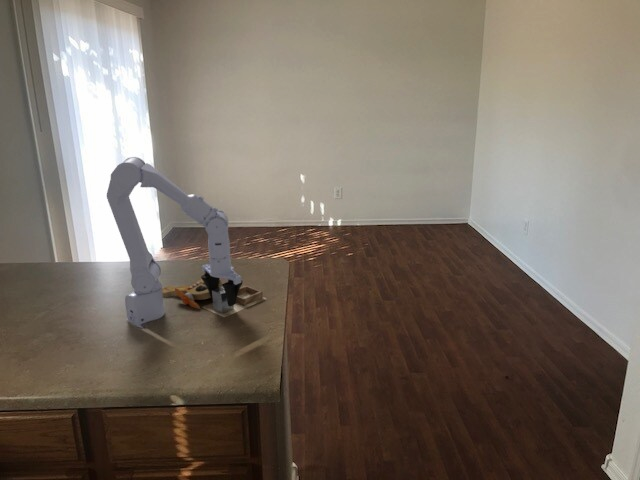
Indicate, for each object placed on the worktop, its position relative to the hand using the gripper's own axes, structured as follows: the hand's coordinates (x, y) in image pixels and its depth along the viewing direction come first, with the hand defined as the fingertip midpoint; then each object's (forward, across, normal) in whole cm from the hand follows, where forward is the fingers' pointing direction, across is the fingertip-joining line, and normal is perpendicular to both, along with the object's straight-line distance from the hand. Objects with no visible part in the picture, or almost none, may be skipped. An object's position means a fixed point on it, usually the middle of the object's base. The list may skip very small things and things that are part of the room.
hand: (223, 301), depth 143 cm
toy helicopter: (0, +17, -5) cm, 17 cm away
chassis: (+4, +1, -5) cm, 6 cm away
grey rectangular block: (+3, 0, 0) cm, 3 cm away
